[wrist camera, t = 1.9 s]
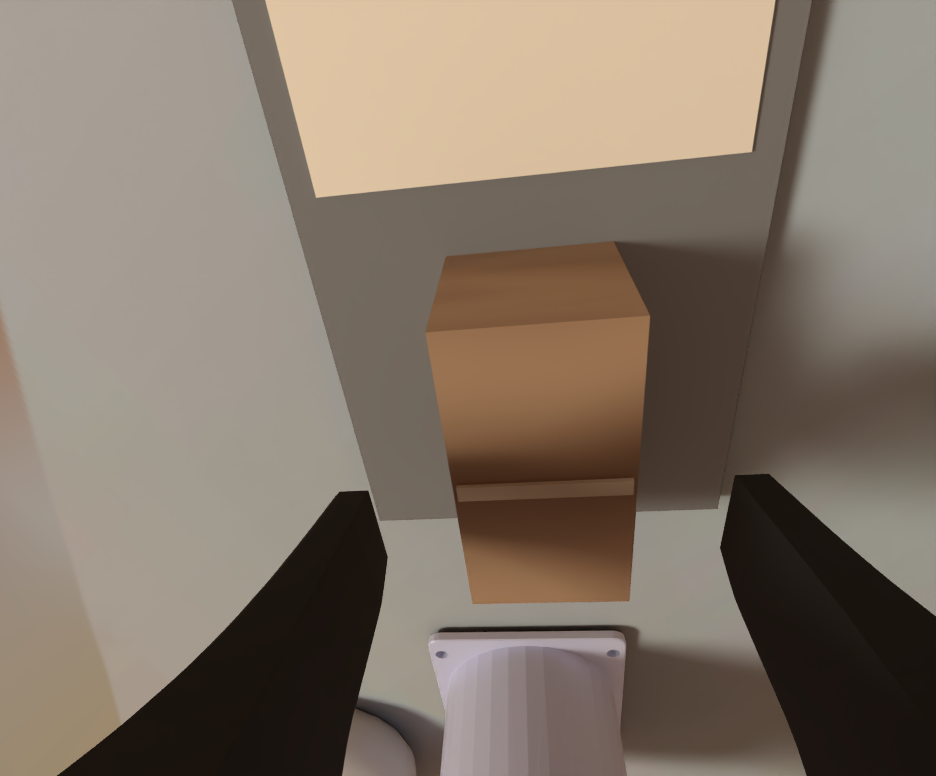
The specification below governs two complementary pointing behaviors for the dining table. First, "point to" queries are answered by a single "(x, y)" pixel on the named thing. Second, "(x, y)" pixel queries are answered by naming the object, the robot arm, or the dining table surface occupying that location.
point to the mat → (530, 192)
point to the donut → (376, 749)
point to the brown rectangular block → (542, 418)
